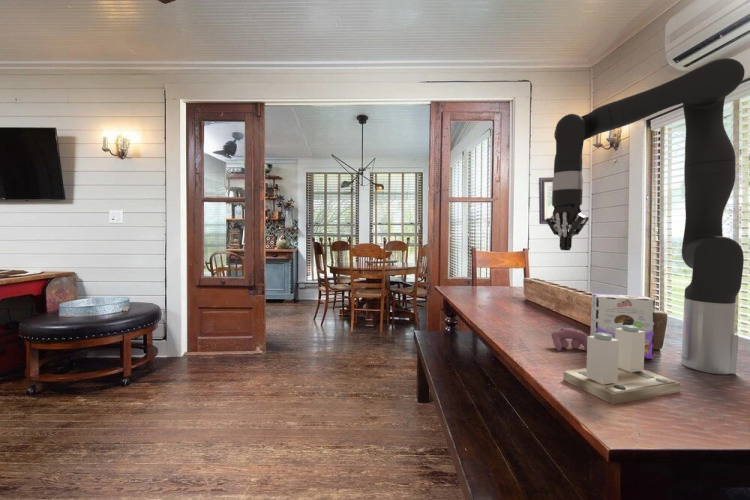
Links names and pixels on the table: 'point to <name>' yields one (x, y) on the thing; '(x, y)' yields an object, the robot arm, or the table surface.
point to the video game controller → (568, 333)
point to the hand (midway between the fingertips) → (565, 250)
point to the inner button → (630, 348)
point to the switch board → (624, 385)
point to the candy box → (623, 316)
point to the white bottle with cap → (602, 358)
